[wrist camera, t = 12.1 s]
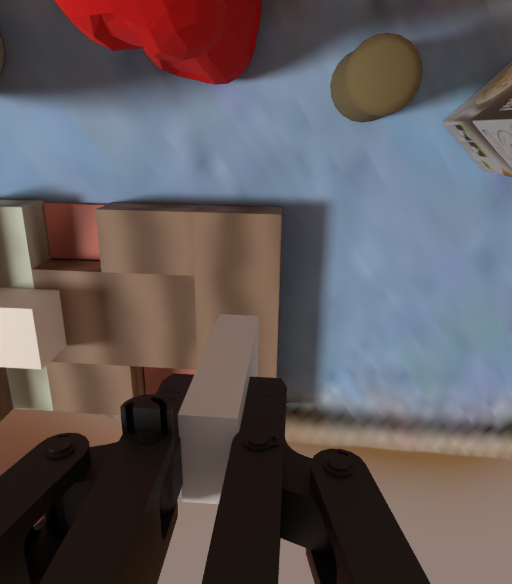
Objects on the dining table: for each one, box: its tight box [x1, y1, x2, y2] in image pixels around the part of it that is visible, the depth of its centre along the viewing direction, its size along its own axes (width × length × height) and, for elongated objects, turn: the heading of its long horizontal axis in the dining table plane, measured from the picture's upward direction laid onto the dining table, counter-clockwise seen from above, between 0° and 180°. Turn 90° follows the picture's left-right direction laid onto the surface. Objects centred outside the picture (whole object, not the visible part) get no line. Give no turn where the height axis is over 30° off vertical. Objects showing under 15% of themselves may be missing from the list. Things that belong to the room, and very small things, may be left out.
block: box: [0, 288, 67, 369], centre depth 45 cm, size 6×6×5 cm
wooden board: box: [0, 199, 283, 421], centre depth 47 cm, size 30×22×6 cm
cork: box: [330, 33, 422, 122], centre depth 36 cm, size 6×6×11 cm
